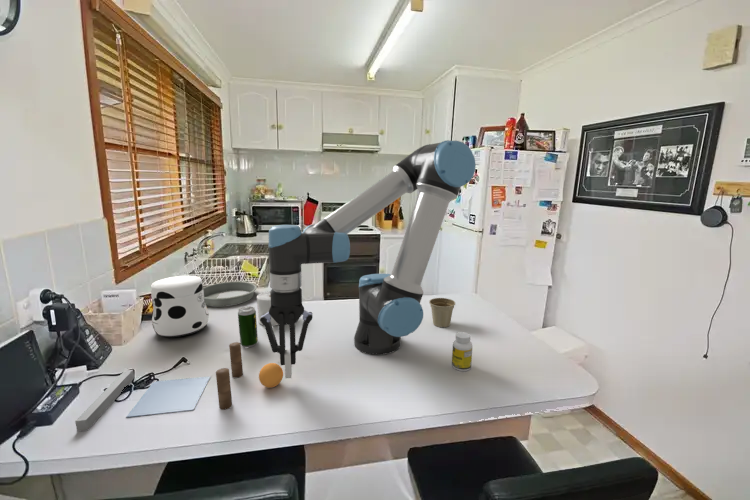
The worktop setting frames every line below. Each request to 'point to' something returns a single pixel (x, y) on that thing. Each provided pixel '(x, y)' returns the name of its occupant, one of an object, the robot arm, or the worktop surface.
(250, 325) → the beer can
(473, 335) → the worktop surface
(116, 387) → the wall
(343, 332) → the worktop surface
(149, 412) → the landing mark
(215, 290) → the cake pan
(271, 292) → the robot arm
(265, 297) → the toilet tissue
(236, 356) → the post
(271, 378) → the ball
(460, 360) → the supplement bottle
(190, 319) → the milk container
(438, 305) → the flower pot
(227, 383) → the post
